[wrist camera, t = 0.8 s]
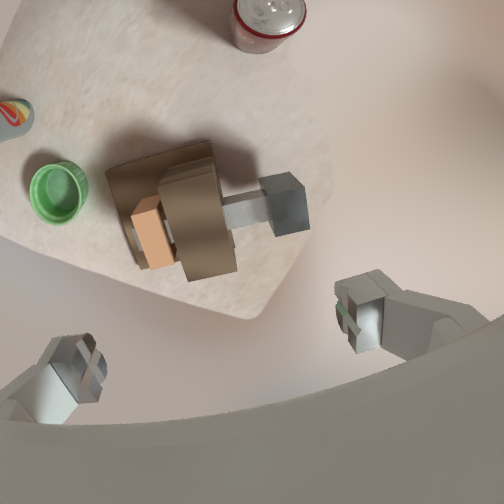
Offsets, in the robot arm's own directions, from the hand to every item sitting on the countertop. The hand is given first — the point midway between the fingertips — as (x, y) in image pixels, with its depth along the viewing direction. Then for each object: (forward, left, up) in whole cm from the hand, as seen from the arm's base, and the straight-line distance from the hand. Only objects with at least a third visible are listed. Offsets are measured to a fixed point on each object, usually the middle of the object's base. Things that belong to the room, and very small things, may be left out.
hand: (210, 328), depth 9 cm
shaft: (+7, -1, -30) cm, 31 cm away
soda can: (-15, +9, -35) cm, 39 cm away
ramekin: (-1, -23, -35) cm, 42 cm away
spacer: (+7, -9, -30) cm, 32 cm away
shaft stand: (+7, -8, -35) cm, 36 cm away
